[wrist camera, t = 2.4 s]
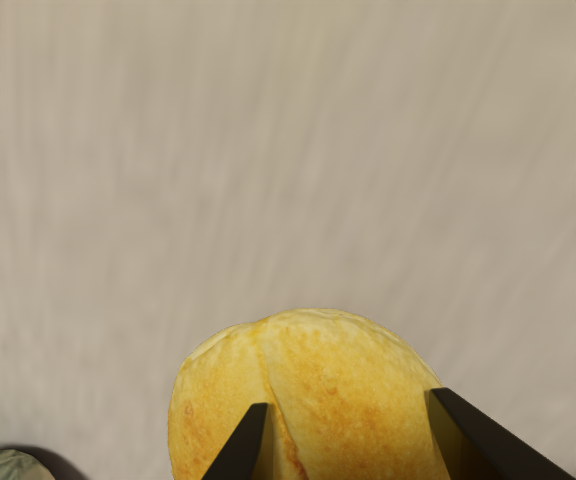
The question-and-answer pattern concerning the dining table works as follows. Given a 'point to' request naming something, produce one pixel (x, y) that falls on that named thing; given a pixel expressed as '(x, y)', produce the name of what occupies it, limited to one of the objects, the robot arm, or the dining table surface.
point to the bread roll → (309, 399)
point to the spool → (21, 467)
